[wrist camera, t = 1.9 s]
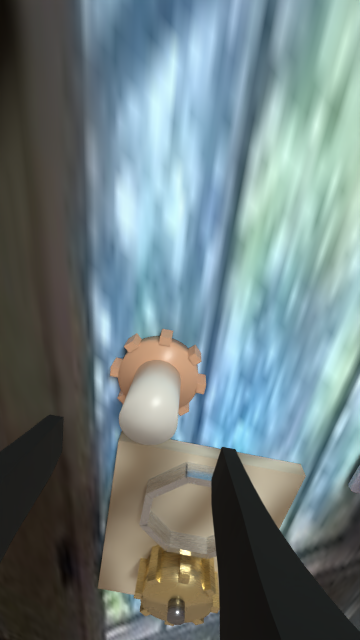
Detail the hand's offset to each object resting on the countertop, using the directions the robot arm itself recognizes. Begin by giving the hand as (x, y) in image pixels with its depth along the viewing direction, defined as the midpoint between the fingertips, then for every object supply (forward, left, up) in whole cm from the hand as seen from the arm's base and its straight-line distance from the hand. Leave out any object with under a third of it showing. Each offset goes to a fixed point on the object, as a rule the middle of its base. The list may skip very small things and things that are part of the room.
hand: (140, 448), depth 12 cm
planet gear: (0, 0, -7) cm, 7 cm away
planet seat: (-5, +11, -7) cm, 14 cm away
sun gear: (-5, +19, -6) cm, 21 cm away
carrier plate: (-5, +15, -7) cm, 18 cm away
